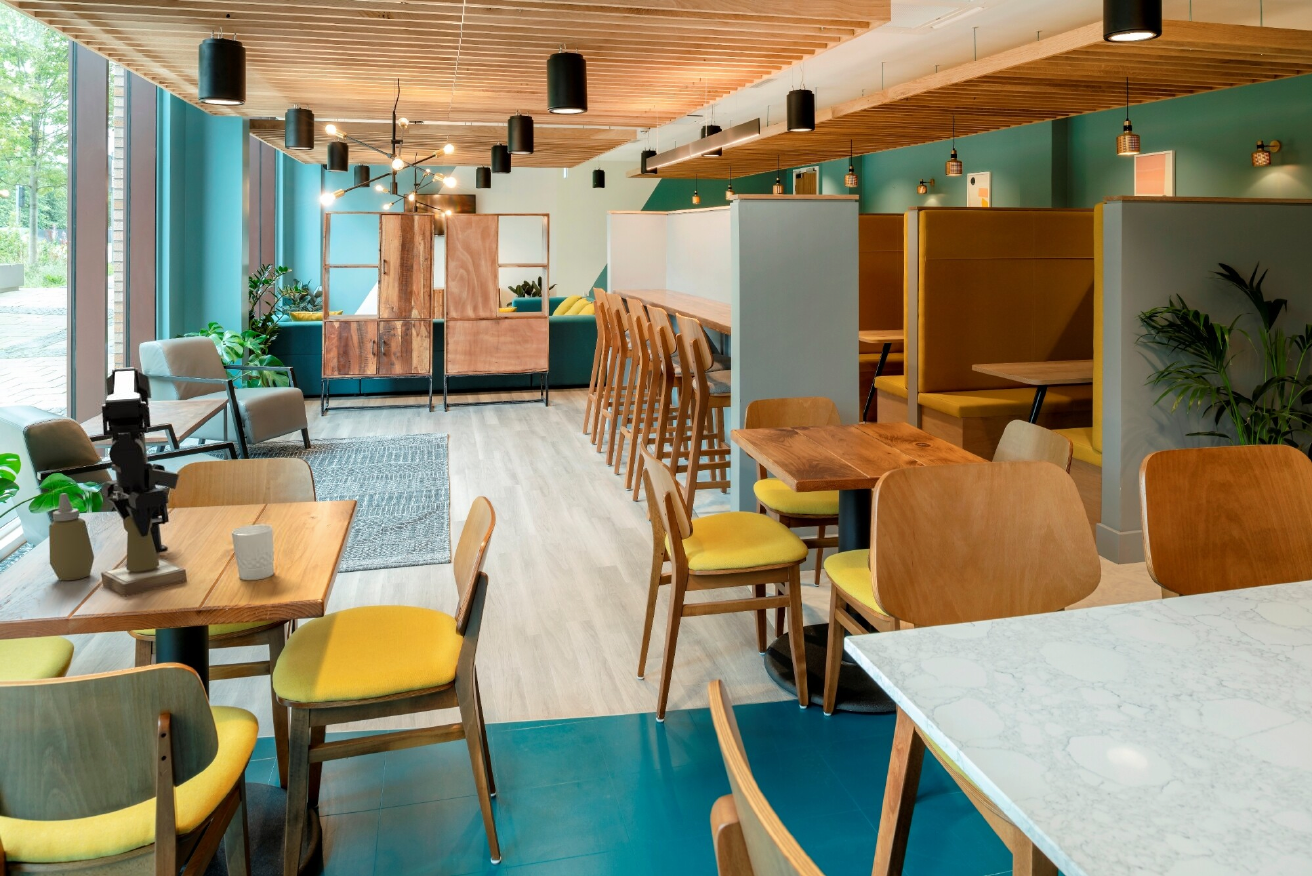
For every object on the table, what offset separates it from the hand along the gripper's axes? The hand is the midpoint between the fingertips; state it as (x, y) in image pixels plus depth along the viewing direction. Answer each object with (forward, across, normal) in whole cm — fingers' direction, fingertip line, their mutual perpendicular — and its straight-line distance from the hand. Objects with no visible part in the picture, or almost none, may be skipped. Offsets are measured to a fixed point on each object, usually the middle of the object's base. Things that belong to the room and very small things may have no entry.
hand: (139, 533), depth 198 cm
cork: (+7, 0, 0) cm, 7 cm away
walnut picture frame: (+10, 0, 0) cm, 10 cm away
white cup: (+11, -14, -17) cm, 24 cm away
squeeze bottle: (+11, +16, +8) cm, 21 cm away
